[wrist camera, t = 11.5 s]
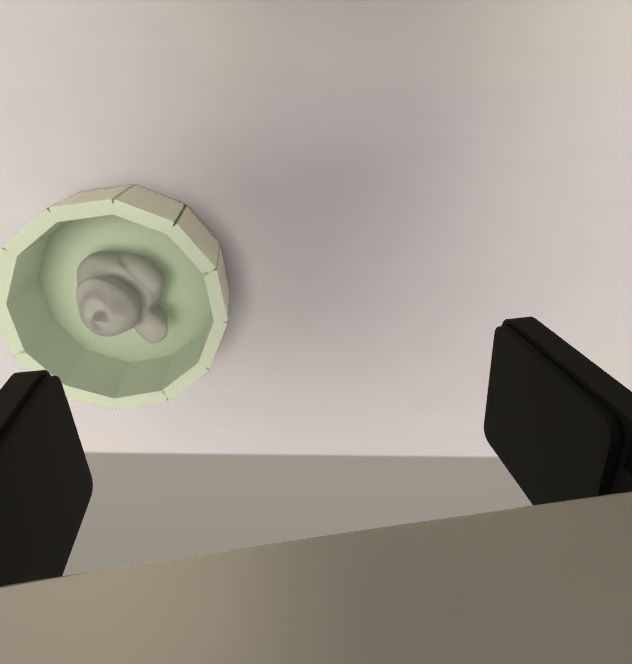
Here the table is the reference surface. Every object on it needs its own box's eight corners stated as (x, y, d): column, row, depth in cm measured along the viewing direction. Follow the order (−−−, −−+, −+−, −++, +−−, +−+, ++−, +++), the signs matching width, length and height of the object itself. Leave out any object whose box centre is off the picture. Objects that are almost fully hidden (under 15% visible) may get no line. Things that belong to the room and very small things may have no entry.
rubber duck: (123, 222, 32) (88, 254, 25) (198, 294, 35) (187, 342, 27) (65, 277, 33) (15, 324, 26) (142, 344, 35) (117, 403, 28)
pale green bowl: (4, 201, 31) (-45, 220, 26) (206, 174, 32) (200, 186, 27) (68, 376, 37) (38, 422, 31) (241, 348, 38) (241, 388, 32)
